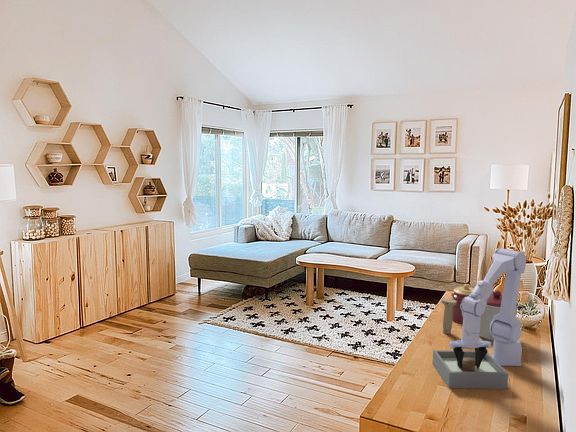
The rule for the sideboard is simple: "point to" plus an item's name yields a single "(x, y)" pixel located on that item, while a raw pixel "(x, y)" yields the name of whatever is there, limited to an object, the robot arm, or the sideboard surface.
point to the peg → (468, 364)
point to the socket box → (483, 376)
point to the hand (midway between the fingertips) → (468, 366)
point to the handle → (447, 314)
